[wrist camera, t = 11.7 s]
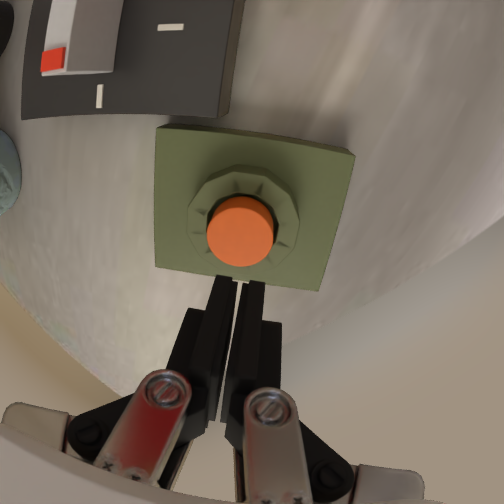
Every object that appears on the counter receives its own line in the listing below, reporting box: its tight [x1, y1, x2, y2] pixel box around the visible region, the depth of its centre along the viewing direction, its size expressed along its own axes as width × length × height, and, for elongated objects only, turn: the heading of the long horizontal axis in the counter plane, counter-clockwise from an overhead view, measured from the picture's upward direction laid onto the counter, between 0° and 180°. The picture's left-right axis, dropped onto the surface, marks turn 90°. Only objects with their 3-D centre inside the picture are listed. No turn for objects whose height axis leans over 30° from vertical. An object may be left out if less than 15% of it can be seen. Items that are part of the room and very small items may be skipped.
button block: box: [154, 124, 356, 291], centre depth 19 cm, size 12×10×4 cm
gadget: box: [21, 0, 245, 120], centre depth 13 cm, size 14×10×4 cm
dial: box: [40, 0, 124, 76], centre depth 10 cm, size 5×2×5 cm, turn 172°
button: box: [207, 196, 273, 267], centre depth 17 cm, size 4×4×2 cm
